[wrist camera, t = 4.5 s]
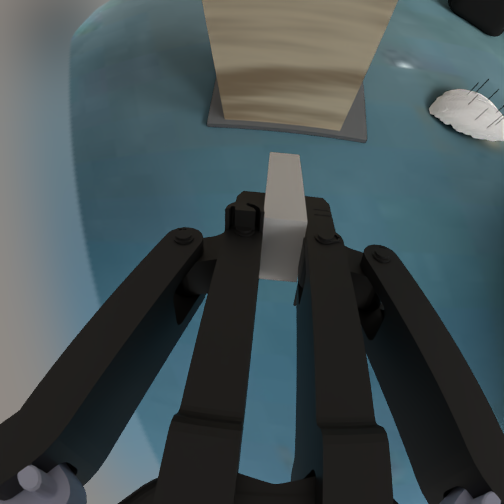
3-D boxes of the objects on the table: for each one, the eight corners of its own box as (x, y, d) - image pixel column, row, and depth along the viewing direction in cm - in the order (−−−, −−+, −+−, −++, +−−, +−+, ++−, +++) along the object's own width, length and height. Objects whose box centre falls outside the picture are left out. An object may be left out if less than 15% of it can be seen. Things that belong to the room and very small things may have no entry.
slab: (339, 130, 26) (402, -11, 10) (224, 119, 26) (195, -34, 10) (338, 87, 27) (385, -50, 11) (232, 76, 27) (214, -69, 11)
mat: (365, 143, 26) (367, 140, 26) (207, 126, 27) (206, 123, 26) (347, -15, 30) (348, -18, 29) (242, -26, 30) (242, -29, 30)
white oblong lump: (498, 108, 27) (522, 86, 22) (512, 153, 26) (540, 134, 21) (421, 89, 28) (443, 59, 22) (434, 138, 27) (462, 111, 21)
